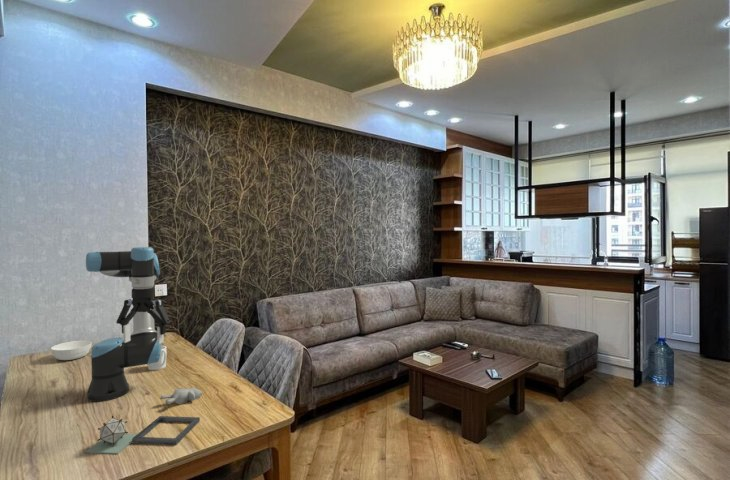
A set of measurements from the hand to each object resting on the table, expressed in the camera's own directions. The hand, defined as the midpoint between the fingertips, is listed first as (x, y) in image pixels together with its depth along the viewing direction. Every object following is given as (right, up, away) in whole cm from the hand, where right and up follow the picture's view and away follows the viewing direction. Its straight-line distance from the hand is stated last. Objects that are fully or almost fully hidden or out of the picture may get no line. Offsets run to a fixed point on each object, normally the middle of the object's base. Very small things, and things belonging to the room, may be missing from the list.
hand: (143, 342), depth 145 cm
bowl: (-79, -27, +66) cm, 106 cm away
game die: (+1, -29, -19) cm, 34 cm away
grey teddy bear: (+9, -28, +12) cm, 32 cm away
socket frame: (+15, -29, -12) cm, 34 cm away
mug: (-22, -27, +50) cm, 61 cm away
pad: (+1, -29, -19) cm, 35 cm away
